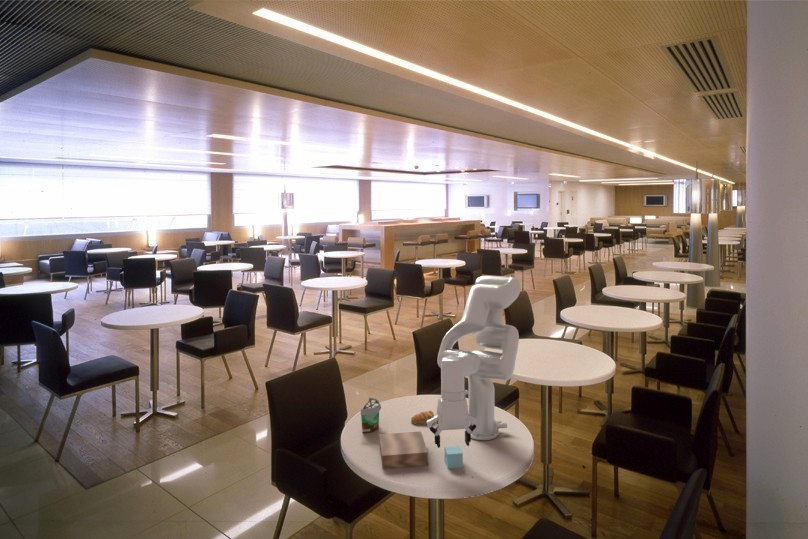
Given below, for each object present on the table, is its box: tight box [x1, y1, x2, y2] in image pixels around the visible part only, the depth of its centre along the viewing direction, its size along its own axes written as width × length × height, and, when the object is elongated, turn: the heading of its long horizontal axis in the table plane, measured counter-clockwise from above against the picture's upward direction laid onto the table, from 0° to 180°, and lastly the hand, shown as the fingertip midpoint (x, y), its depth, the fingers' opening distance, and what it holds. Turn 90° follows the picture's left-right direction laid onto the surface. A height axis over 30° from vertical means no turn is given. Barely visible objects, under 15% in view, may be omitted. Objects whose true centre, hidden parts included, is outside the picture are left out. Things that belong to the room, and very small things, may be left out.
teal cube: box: [443, 445, 464, 470], centre depth 158 cm, size 5×5×5 cm
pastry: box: [410, 410, 436, 425], centre depth 190 cm, size 9×7×4 cm
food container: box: [360, 397, 382, 434], centre depth 184 cm, size 12×6×10 cm, turn 168°
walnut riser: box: [378, 430, 429, 470], centre depth 164 cm, size 15×15×4 cm
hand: (452, 444), depth 157 cm, fingers open, 9 cm apart
